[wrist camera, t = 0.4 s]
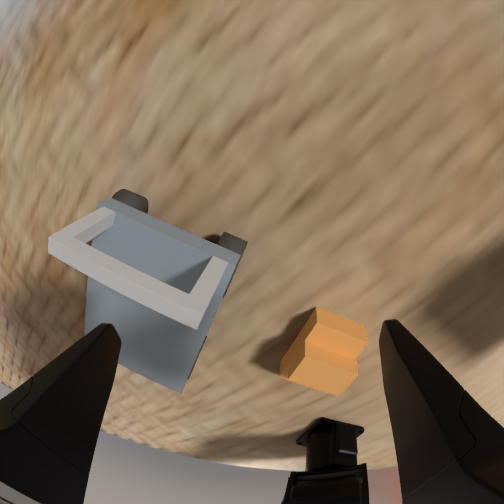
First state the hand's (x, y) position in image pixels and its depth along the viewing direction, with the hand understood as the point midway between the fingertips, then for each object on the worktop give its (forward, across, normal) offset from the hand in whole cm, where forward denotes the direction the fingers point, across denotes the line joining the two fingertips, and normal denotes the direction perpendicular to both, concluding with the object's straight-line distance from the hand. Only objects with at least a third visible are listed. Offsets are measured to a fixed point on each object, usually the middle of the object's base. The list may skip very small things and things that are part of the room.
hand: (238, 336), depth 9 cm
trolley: (+14, +9, +8) cm, 18 cm away
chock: (+12, -4, +15) cm, 20 cm away
